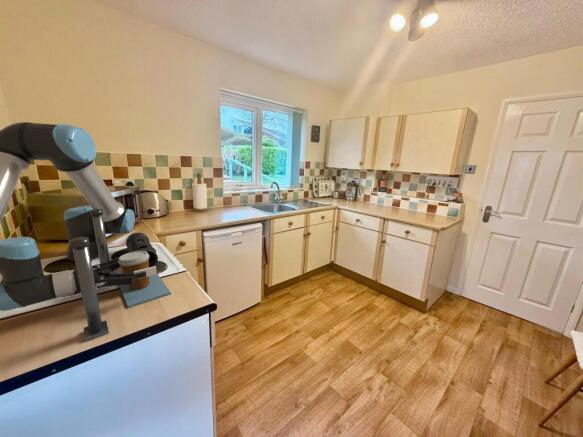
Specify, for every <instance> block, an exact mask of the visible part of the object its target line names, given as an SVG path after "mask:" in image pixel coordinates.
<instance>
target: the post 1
mask: <svg viewBox="0 0 583 437" xmlns="http://www.w3.org/2000/svg"><path fill="white" fill-rule="evenodd" d="M69 242H70V247H71V248H73V254H74V259H75V261H74V262H75V263H74V264H75V269H77V274H78V279H79V284H80V289H81V292H80V293H81V297H82V299H81V300H82V303H83V308H84V314H85V318H86V323H87V326H85V327H83V334H84V342H85V343H86V342H90V341H92V340H95V339H98V338H100V337H103V336H105V335H108V334H110V331H109V330H110V329H109V326H108V323H107V320H106V319H105V320H103V319H102V315H101V309H100V304H99V297H98V292H97V287H96V284H95V280H94V275H93V269H92V266H93V264H92V259H91V258H90V252H89V247H88V245H89V238H88V237H79V238H74V239H71V240H69V239H68V243H69Z"/></svg>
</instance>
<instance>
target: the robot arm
mask: <svg viewBox="0 0 583 437" xmlns="http://www.w3.org/2000/svg"><path fill="white" fill-rule="evenodd" d="M96 156H97V148H96V143H95V141H94V139H93V138H92V136H91V134H90V133H88V132H87V131H86V130H85V129H83V128H81V127H80V126H76V125H69V124H61V123H60V124H53V123H40V122H38V123H37V122H28V121H27V122H24V121H21V122H16V123H12V124H9V125H7V126H5V127H4V128H2V129H0V224H1V223H2V221H3V218H4V216H5V213H6V212H7V209H8V207H9V204H10V202H11V198H12V196H13V194H14V192H15V189H16V187H17V184H18V181H19V180H20V177H21V174H22V172H23V171H24V170H27V169H29V167H30V165H31V163H32V162H33V161H36V160H37V161H49V162H50V163H51V164H52V165H53V167H54V168H55V169H56V170H57V171H59V172H62V173H65V174H66V175H67V177H68V178H69V180H70V181H71V182H72V183H73V184H74V187H76V188H77V190H78V191H79V193H80V194H81V195H82V196H83V197H84V199H85V200H86V202H87V204H89V205H83V206H81V205H80V206H76V207H72V208H68V209H66V210H65V211H64V212H63V222H64V225H65V229H66V235H67V239H68V244H67V249H66V253H65V256H66V259H67V260H68V261H71V262H75V259H74V254H73V248H71V247H70V242H69V240H71V239H74V238H79V237H88V238H89V245H88V247H89V252H90V258H91V260H94V259H97V258H98V259H99V254H98V248H97V242H96V236H95V230H94V224H93V219H92V215H91V213H90V210H94V209H103V214H102V215H103V222H104V228H105V234H106V235H123V234H124V235H125V234H126V235H128V234H129V233H131V232H132V231H133V229H134V226H135V223H136V222H135V221H136V220H135V218H136V217H135V212H134V210H133V209H130V208H127V209H126V208H125V207H124V205H123V203H121V202H118V201H117V200H116V199H115V198H114V196H113V194H112V193H111V191H110V189H109V187H108V186H107V184H106V183H105V182H104V180H103V178H102V177H101V175H100V174H99V172H98V170H97V168H96V167H95V165H94V163H95V158H96ZM121 256H122V255H121ZM121 256H117V257H115V258H113V259H109V261H106V262H104V263H101V264H100V263H98V264H97V263H96V264H94V265H93V264H92V269H93V275H94V280H95V286H96V289H101V288H106V287H108V288H109V287H117V286H119V285H129V284H134V283H135V280H136V279H140V278H143V277H147V276H151V275H155V274H158V273H157V272H158V271H157V266H156V265H155V266H154V267H150V268H146V269H142V270H138V271H134V273H124V272H115V271H116V270H118V269H120V268H122V267H121V265H120V264H119V263H118V261H119V258H120V257H121ZM113 271H114V272H115V273H114V272H113ZM0 276H1V280H2V283H0V311H1V312H7V311H11V310H15V309H20V308H26V307H28V306H31V305H36V304H39V303H42V302H47V301H50V300H55V299H58V298H66V296H67V297H68V296H69V295H74V294H75V292H77V293H81V289H80V284H79V279H78V274H77V269H76V268H74V269H73V270H70V269H67V270H62V271H58V272H53V273H49V274H44V270H43V264H42V261H41V256H40V250H39V249H38V246H37V243H36V240H35V239H34V238H32V237H29V236H18V237H17V236H16V237H9V238H4V239H1V240H0ZM128 281H129V282H128Z"/></svg>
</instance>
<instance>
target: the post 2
mask: <svg viewBox="0 0 583 437" xmlns="http://www.w3.org/2000/svg"><path fill="white" fill-rule="evenodd" d="M90 213H91V215H92V219H93V224H94V230H95V236H96V242H97V248H98V254H99V257H98V259H99V264H101V263H104V262H106V261H109V260H110V254H109V247H108V241H107V236H106V235H107V234H105V228H104V222H103V215H102V214H103V209H94V210H90ZM113 272H114V273H116V271H115V270H114V271H113Z"/></svg>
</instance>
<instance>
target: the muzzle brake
mask: <svg viewBox="0 0 583 437" xmlns="http://www.w3.org/2000/svg"><path fill="white" fill-rule="evenodd" d="M125 245H126V248H127V250H128V253H130V252H134V251H146V252H147V253H148V254H149V259H148V260H149V268H150V267H154V266H156V265H157V263H158V260H159V257H158V254H157V252H156V251H155V249H154V248H153V245H152V243H151V242H150V239H149V237H148V236H147V235H146V234H145V233H142V232H138V231H137V232H134V233H131V234H129V235H128V236H127V238H126V240H125Z"/></svg>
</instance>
